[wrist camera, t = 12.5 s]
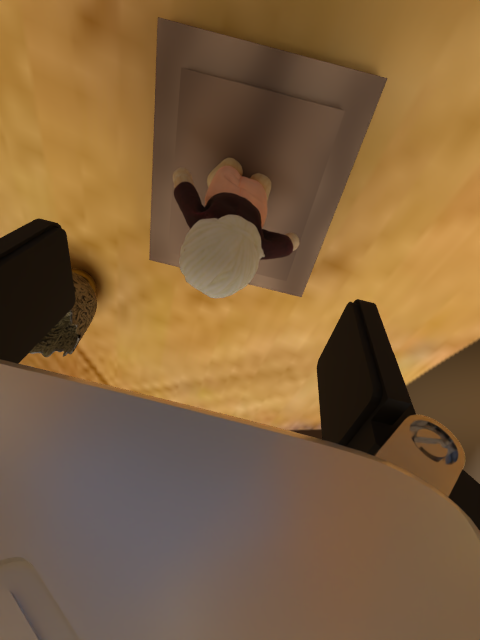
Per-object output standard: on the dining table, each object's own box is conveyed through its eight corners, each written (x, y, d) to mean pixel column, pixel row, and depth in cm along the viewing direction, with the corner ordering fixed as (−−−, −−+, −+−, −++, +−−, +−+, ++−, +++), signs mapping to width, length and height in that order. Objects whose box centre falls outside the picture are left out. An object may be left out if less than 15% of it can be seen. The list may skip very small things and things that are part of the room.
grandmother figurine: (189, 199, 23) (111, 287, 13) (199, 142, 21) (115, 195, 11) (288, 232, 24) (289, 342, 13) (309, 180, 21) (329, 264, 11)
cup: (63, 309, 36) (15, 357, 30) (35, 249, 32) (-29, 290, 25) (124, 310, 35) (88, 360, 29) (103, 248, 31) (55, 290, 24)
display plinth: (378, 79, 21) (394, 77, 18) (300, 283, 30) (302, 306, 27) (170, 24, 20) (148, 12, 17) (158, 248, 30) (143, 267, 27)
